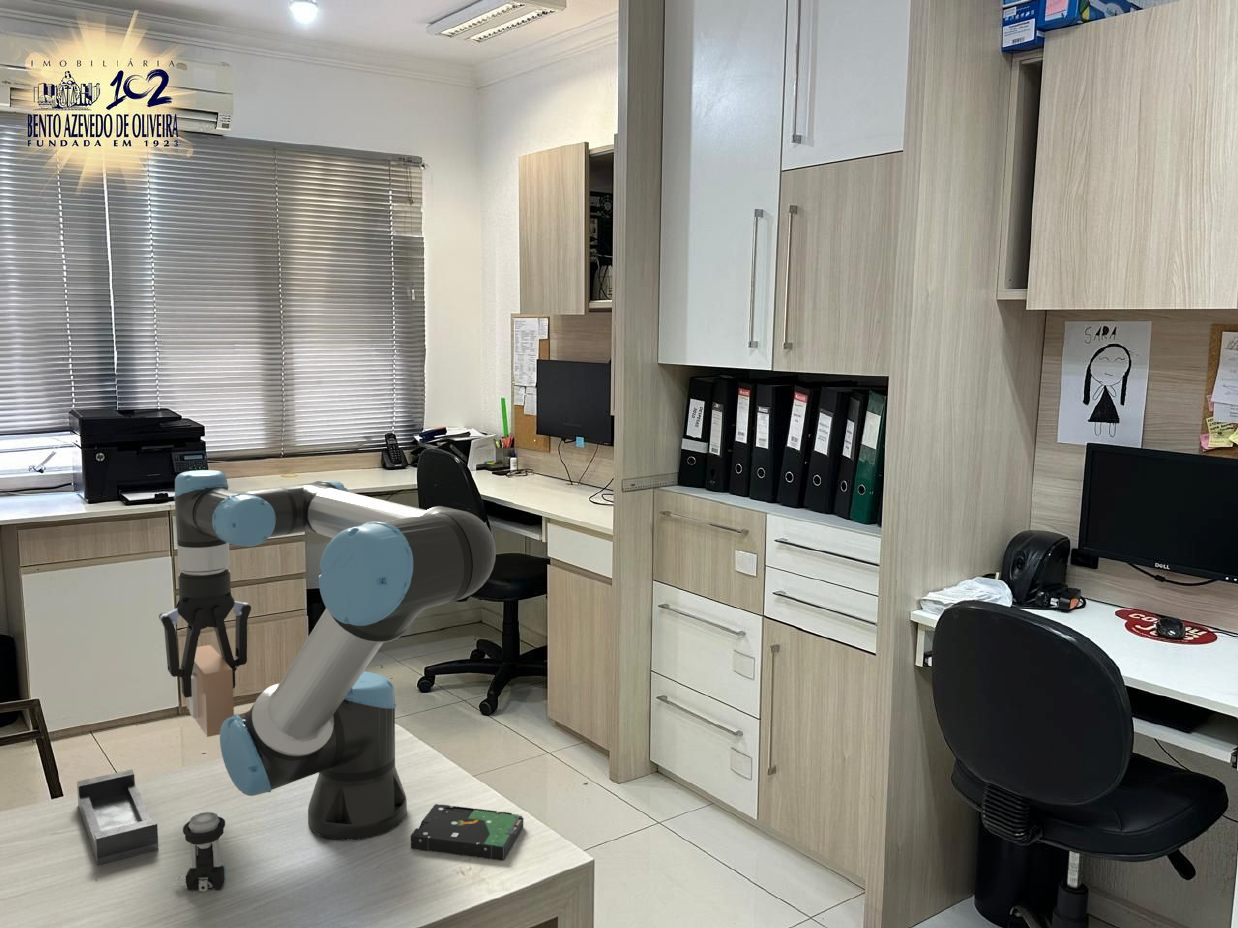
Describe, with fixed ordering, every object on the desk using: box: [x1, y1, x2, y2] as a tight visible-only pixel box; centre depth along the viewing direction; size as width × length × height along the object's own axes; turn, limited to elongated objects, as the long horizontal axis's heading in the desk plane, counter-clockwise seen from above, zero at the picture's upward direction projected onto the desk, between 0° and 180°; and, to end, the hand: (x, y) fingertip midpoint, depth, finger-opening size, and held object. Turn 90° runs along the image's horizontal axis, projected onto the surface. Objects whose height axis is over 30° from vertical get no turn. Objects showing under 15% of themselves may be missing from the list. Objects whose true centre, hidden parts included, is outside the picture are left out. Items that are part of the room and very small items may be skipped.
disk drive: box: [410, 803, 524, 862], centre depth 150 cm, size 10×3×15 cm
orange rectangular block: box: [186, 644, 235, 738], centre depth 156 cm, size 14×4×10 cm, turn 35°
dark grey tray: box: [76, 769, 159, 866], centre depth 150 cm, size 21×8×4 cm, turn 35°
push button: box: [174, 811, 227, 893], centre depth 134 cm, size 7×5×10 cm
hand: (209, 711), depth 156 cm, fingers closed on orange rectangular block, 4 cm apart
